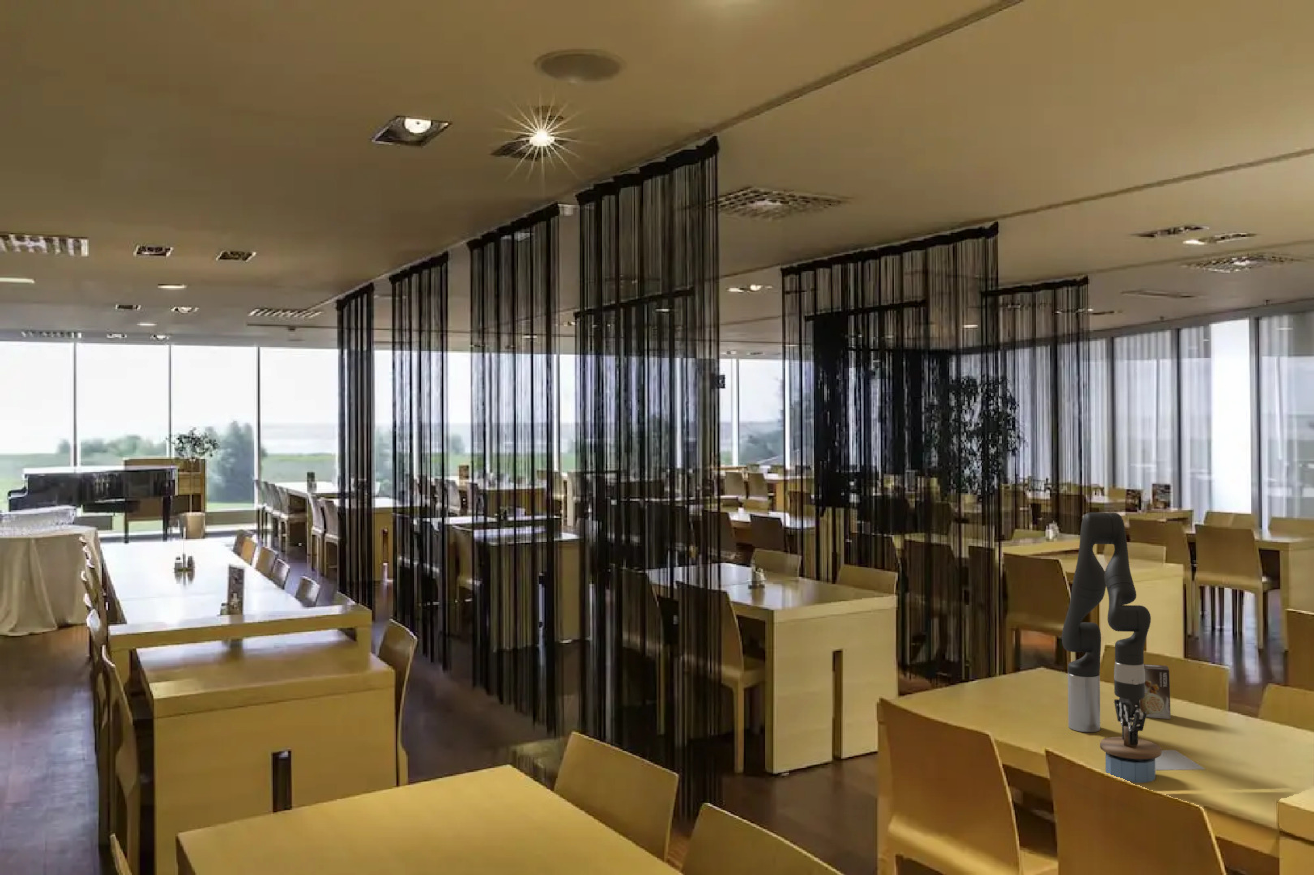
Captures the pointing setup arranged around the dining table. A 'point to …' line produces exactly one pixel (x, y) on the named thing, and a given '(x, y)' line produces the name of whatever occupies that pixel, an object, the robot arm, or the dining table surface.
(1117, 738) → the lid
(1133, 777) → the bowl
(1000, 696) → the dining table surface
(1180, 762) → the mat
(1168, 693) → the coffee box
